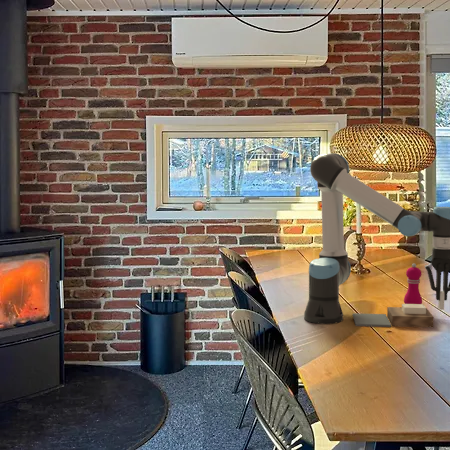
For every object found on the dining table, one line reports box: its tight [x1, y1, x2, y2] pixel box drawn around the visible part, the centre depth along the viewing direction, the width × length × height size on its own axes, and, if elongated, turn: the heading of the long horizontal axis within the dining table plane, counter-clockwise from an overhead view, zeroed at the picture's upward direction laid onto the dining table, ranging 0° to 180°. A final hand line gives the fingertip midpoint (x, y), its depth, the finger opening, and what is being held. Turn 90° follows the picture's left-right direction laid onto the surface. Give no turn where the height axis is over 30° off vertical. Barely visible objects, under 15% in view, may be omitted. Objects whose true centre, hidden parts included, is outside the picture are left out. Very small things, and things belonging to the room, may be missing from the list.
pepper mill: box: [403, 263, 423, 304], centre depth 245 cm, size 7×7×20 cm
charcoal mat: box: [352, 312, 392, 328], centre depth 233 cm, size 13×15×1 cm
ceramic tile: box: [401, 303, 427, 314], centre depth 230 cm, size 8×6×2 cm
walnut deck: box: [386, 306, 434, 328], centre depth 231 cm, size 15×13×4 cm
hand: (441, 308), depth 229 cm, fingers closed
